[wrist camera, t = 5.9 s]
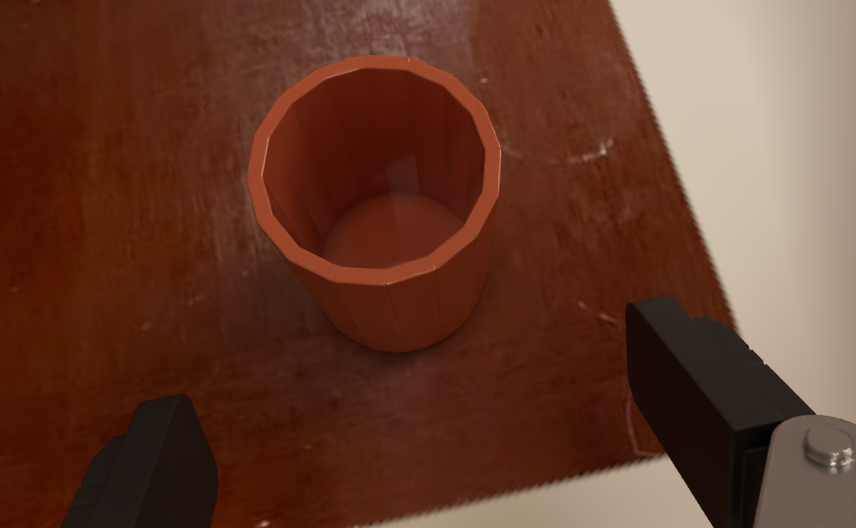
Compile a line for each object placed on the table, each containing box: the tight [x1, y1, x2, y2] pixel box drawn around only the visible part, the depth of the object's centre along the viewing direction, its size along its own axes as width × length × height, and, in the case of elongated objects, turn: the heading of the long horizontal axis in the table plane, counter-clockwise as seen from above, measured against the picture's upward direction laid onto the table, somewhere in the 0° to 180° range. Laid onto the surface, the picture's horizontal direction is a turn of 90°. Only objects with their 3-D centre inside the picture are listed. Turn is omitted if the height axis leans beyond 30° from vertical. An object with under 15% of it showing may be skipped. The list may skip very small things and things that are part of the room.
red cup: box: [246, 55, 502, 352], centre depth 20 cm, size 6×6×8 cm
